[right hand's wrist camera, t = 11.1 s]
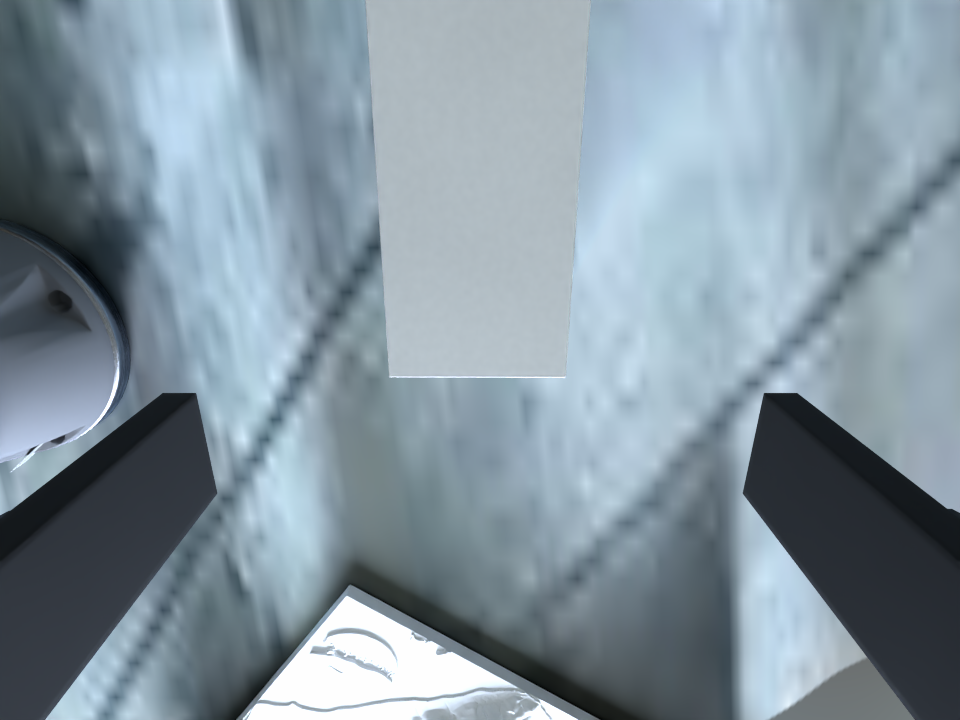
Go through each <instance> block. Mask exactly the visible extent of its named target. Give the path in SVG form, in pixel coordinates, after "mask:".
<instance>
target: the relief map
mask: <svg viewBox="0 0 960 720" xmlns="http://www.w3.org/2000/svg"><path fill="white" fill-rule="evenodd" d="M237 720H599V719H598V718H596V717H594V716H592V715H590V714H588V713H587V712H585V711H583V710H581V709H579V708H577V707H575V706H574V705H572V704H570V703H568V702H566V701H564V700H563V699H561V698H559V697H557V696H555V695H553V694H552V693H550V692H548V691H546V690H544V689H542V688H540V687H539V686H537V685H535V684H533V683H531V682H529V681H528V680H526V679H524V678H522V677H520V676H518V675H516V674H515V673H513V672H511V671H509V670H507V669H505V668H504V667H502V666H500V665H498V664H496V663H494V662H492V661H491V660H489V659H487V658H485V657H483V656H481V655H480V654H478V653H476V652H474V651H472V650H470V649H468V648H467V647H465V646H463V645H461V644H459V643H457V642H456V641H454V640H452V639H450V638H448V637H446V636H444V635H443V634H441V633H439V632H437V631H435V630H433V629H432V628H430V627H428V626H426V625H424V624H422V623H420V622H419V621H417V620H415V619H413V618H411V617H409V616H408V615H406V614H404V613H402V612H400V611H398V610H396V609H395V608H393V607H391V606H389V605H387V604H385V603H384V602H382V601H380V600H378V599H376V598H374V597H372V596H371V595H369V594H367V593H365V592H363V591H361V590H360V589H358V588H356V587H354V586H352V585H349V586H348V587H347V589H346V590H345V591H344V592H343V593H342V595H341V596H340V597H339V598H338V599H337V601H336V602H335V603H334V604H333V605H332V607H331V608H330V609H329V610H328V611H327V612H326V614H325V615H324V616H323V617H322V618H321V620H320V621H319V622H318V623H317V624H316V626H315V627H314V628H313V629H312V630H311V632H310V633H309V634H308V635H307V636H306V638H305V639H304V640H303V641H302V642H301V644H300V645H299V646H298V647H297V648H296V649H295V651H294V652H293V653H292V654H291V655H290V657H289V658H288V659H287V660H286V661H285V663H284V664H283V665H282V666H281V667H280V669H279V670H278V671H277V672H276V673H275V675H274V676H273V677H272V678H271V679H270V680H269V682H268V683H267V684H266V685H265V686H264V688H263V689H262V690H261V691H260V692H259V694H258V695H257V696H256V697H255V698H254V700H253V701H252V702H251V703H250V704H249V706H248V707H247V708H246V709H245V710H244V712H243V713H242V714H241V715H240V716H239V717H238V719H237Z"/></svg>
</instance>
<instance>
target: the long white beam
mask: <svg viewBox="0 0 960 720" xmlns="http://www.w3.org/2000/svg"><path fill="white" fill-rule="evenodd" d="M365 4H366V20H367V36H368V51H369V67H370V83H371V98H372V114H373V130H374V145H375V161H376V177H377V193H378V208H379V224H380V240H381V255H382V271H383V287H384V302H385V318H386V334H387V349H388V365H389V377H502V378H565V377H566V368H567V353H568V338H569V323H570V308H571V293H572V278H573V263H574V248H575V233H576V217H577V202H578V187H579V172H580V157H581V142H582V127H583V112H584V97H585V82H586V67H587V52H588V37H589V22H590V7H591V0H365Z"/></svg>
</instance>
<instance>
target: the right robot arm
mask: <svg viewBox="0 0 960 720" xmlns="http://www.w3.org/2000/svg"><path fill="white" fill-rule="evenodd" d="M129 372H130V349H129V343H128V338H127V334H126V331H125V327H124V325H123V322H122V319H121V317H120V315H119V313H118V311H117V309H116V307H115V305H114V303H113V301H112V300H111V298H110V296H109V295H108V293H107V292H106V291H105V289H104V288H103V286H102V285H101V284H100V282H99V281H98V280H97V279H96V278H95V276H94V275H93V274H92V273H91V272H90V271H89V270H88V269H87V268H86V267H85V266H84V265H83V264H82V263H81V262H80V261H79V260H77V259H76V258H75V257H74V256H73V255H72V254H70V253H69V252H68V251H66V250H65V249H64V248H62V247H61V246H59V245H58V244H56V243H55V242H53V241H52V240H50V239H48V238H47V237H45V236H43V235H41V234H39V233H37V232H35V231H33V230H31V229H28V228H26V227H24V226H21V225H18V224H15V223H12V222H9V221H5V220H1V219H0V463H2V462H5V461H9V460H13V459H16V458H20V457H23V456H26V455H28V454H29V455H28V456H27V457H26V458H25V459H24V460H23V461H22V462H20V463H19V464H18V465H17V466H16V467H15V468H14V469H13V470H15V469H16V468H17V467H19V466H20V465H22V464H23V463H25V462H26V461H27V460H28V459H29V458H30V457H31V456H32V455H33V454H34V453H36V452H41V451H45V450H48V449H52V448H55V447H58V446H60V445H63V444H66V443H68V442H70V441H73V440H75V439H77V438H78V437H80V436H82V435H83V434H85V433H86V432H88V431H89V430H90V429H92V428H93V427H95V426H96V425H97V424H99V423H100V422H101V421H103V420H104V419H105V418H106V417H107V416H108V415H109V414H110V413H111V412H112V411H113V410H114V409H115V407H116V406H117V405H118V403H119V401H120V400H121V398H122V396H123V394H124V391H125V389H126V386H127V382H128V379H129ZM13 470H12V471H13ZM12 471H11V472H12ZM216 494H217V490H216V485H215V481H214V476H213V471H212V466H211V462H210V457H209V452H208V448H207V443H206V438H205V433H204V429H203V424H202V419H201V414H200V410H199V405H198V400H197V396H196V393H162V394H161V395H160V396H159V397H157V398H156V399H155V400H153V401H152V402H151V403H149V404H148V405H147V406H146V407H144V408H143V409H142V410H140V411H139V412H138V413H136V414H135V415H134V416H133V417H131V418H130V419H129V420H127V421H126V422H125V423H124V424H122V425H121V426H120V427H118V428H117V429H116V430H114V431H113V432H112V433H111V434H109V435H108V436H107V437H105V438H104V439H103V440H102V441H100V442H99V443H98V444H96V445H95V446H94V447H92V448H91V449H90V450H89V451H87V452H86V453H85V454H83V455H82V456H81V457H80V458H78V459H77V460H76V461H74V462H73V463H72V464H70V465H69V466H68V467H67V468H65V469H64V470H63V471H61V472H60V473H59V474H58V475H56V476H55V477H54V478H52V479H51V480H50V481H48V482H47V483H46V484H45V485H43V486H42V487H41V488H39V489H38V490H37V491H36V492H34V493H33V494H32V495H30V496H29V497H28V498H26V499H25V500H24V501H23V502H21V503H20V504H19V505H17V506H16V507H15V508H13V509H12V510H11V511H8V512H6V513H4V514H2V515H0V720H45V719H46V718H47V716H48V715H49V714H50V712H51V711H52V710H53V709H54V707H55V706H56V705H57V703H58V702H59V701H60V699H61V698H62V697H63V695H64V694H65V693H66V691H67V690H68V689H69V688H70V686H71V685H72V684H73V682H74V681H75V680H76V678H77V677H78V676H79V674H80V673H81V672H82V670H83V669H84V668H85V666H86V665H87V664H88V663H89V661H90V660H91V659H92V657H93V656H94V655H95V653H96V652H97V651H98V649H99V648H100V647H101V645H102V644H103V643H104V642H105V640H106V639H107V638H108V636H109V635H110V634H111V632H112V631H113V630H114V628H115V627H116V626H117V624H118V623H119V622H120V621H121V619H122V618H123V617H124V615H125V614H126V613H127V611H128V610H129V609H130V607H131V606H132V605H133V603H134V602H135V601H136V599H137V598H138V597H139V596H140V594H141V593H142V592H143V590H144V589H145V588H146V586H147V585H148V584H149V582H150V581H151V580H152V578H153V577H154V576H155V575H156V573H157V572H158V571H159V569H160V568H161V567H162V565H163V564H164V563H165V561H166V560H167V559H168V557H169V556H170V555H171V553H172V552H173V551H174V550H175V548H176V547H177V546H178V544H179V543H180V542H181V540H182V539H183V538H184V536H185V535H186V534H187V532H188V531H189V530H190V529H191V527H192V526H193V525H194V523H195V522H196V521H197V519H198V518H199V517H200V515H201V514H202V513H203V511H204V510H205V509H206V508H207V506H208V505H209V504H210V502H211V501H212V500H213V498H214V497H215V496H216ZM743 494H744V496H745V497H746V498H747V500H748V501H749V502H750V504H751V505H752V506H753V508H754V509H755V510H756V511H757V513H758V514H759V515H760V517H761V518H762V519H763V521H764V522H765V523H766V525H767V526H768V527H769V529H770V530H771V531H772V532H773V534H774V535H775V536H776V538H777V539H778V540H779V542H780V543H781V544H782V546H783V547H784V548H785V550H786V551H787V552H788V553H789V555H790V556H791V557H792V559H793V560H794V561H795V563H796V564H797V565H798V567H799V568H800V569H801V571H802V572H803V573H804V575H805V576H806V577H807V578H808V580H809V581H810V582H811V584H812V585H813V586H814V588H815V589H816V590H817V592H818V593H819V594H820V596H821V597H822V598H823V599H824V601H825V602H826V603H827V605H828V606H829V607H830V609H831V610H832V611H833V613H834V614H835V615H836V617H837V618H838V619H839V621H840V622H841V623H842V624H843V626H844V627H845V628H846V630H847V631H848V632H849V634H850V635H851V636H852V638H853V639H854V640H855V642H856V643H857V644H858V645H859V647H860V648H861V649H862V651H863V652H864V653H865V655H866V656H867V657H868V659H869V660H870V661H871V663H872V664H873V665H874V666H875V668H876V669H877V670H878V672H879V673H880V674H881V676H882V677H883V678H884V680H885V681H886V682H887V684H888V685H889V686H890V687H891V689H892V690H893V691H894V693H895V694H896V695H897V697H898V698H899V699H900V701H901V702H902V703H903V705H904V706H905V707H906V709H907V710H908V711H909V712H910V714H911V715H912V716H913V718H914V719H915V720H960V513H959V512H957V511H955V510H953V509H947V508H945V507H944V506H943V505H941V504H940V503H939V502H937V501H936V500H935V499H934V498H932V497H931V496H930V495H928V494H927V493H926V492H924V491H923V490H922V489H921V488H919V487H918V486H917V485H915V484H914V483H913V482H912V481H910V480H909V479H908V478H906V477H905V476H904V475H902V474H901V473H900V472H899V471H897V470H896V469H895V468H893V467H892V466H891V465H890V464H888V463H887V462H886V461H884V460H883V459H882V458H880V457H879V456H878V455H877V454H875V453H874V452H873V451H871V450H870V449H869V448H868V447H866V446H865V445H864V444H862V443H861V442H860V441H858V440H857V439H856V438H855V437H853V436H852V435H851V434H849V433H848V432H847V431H846V430H844V429H843V428H842V427H840V426H839V425H838V424H836V423H835V422H834V421H833V420H831V419H830V418H829V417H827V416H826V415H825V414H824V413H822V412H821V411H820V410H818V409H817V408H816V407H814V406H813V405H812V404H811V403H809V402H808V401H807V400H805V399H804V398H803V397H801V396H800V395H799V394H798V393H764V396H763V400H762V405H761V410H760V414H759V419H758V424H757V429H756V433H755V438H754V443H753V448H752V452H751V457H750V462H749V466H748V471H747V476H746V481H745V485H744V490H743Z"/></svg>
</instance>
